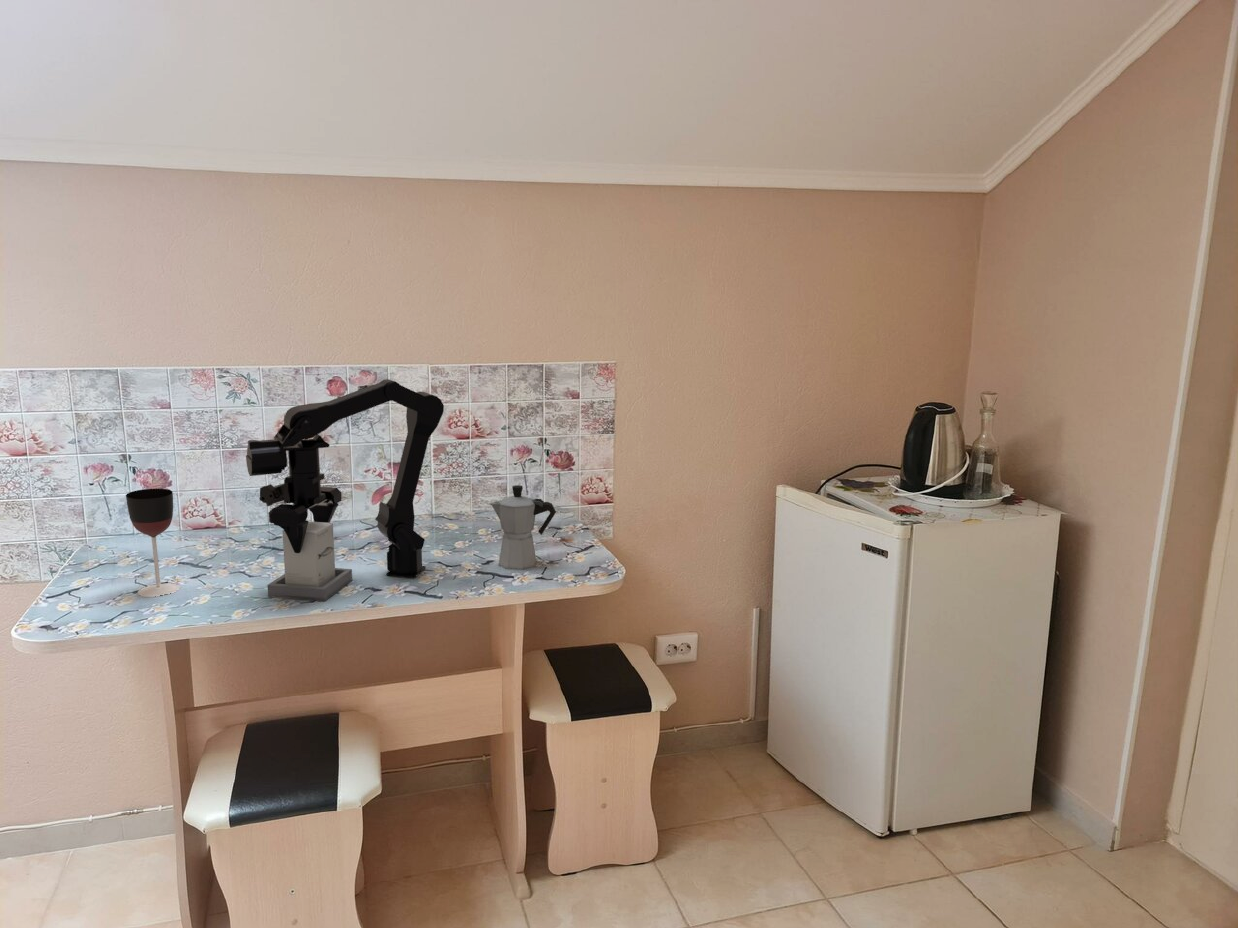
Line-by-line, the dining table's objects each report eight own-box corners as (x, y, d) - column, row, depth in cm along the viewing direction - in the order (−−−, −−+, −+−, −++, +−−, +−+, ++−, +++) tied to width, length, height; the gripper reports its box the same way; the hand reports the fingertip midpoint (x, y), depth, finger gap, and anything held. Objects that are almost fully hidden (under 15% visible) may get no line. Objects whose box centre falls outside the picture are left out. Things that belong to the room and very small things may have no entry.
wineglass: (169, 579, 179) (160, 486, 175) (188, 590, 174) (180, 493, 169) (128, 589, 173) (118, 493, 169) (147, 600, 168) (137, 501, 163)
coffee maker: (485, 569, 190) (485, 489, 186) (492, 556, 199) (492, 480, 195) (553, 571, 190) (553, 491, 186) (557, 558, 198) (558, 482, 194)
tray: (352, 580, 181) (351, 569, 181) (325, 601, 169) (324, 589, 169) (298, 576, 183) (298, 565, 182) (268, 596, 171) (267, 584, 171)
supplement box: (318, 593, 172) (315, 532, 169) (284, 590, 173) (280, 529, 170) (337, 580, 179) (334, 522, 176) (304, 577, 180) (300, 519, 178)
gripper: (290, 458, 181) (295, 530, 184) (239, 479, 163) (245, 557, 166) (340, 461, 179) (344, 533, 183) (295, 482, 161) (300, 561, 165)
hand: (309, 545), depth 174 cm, fingers open, 9 cm apart
